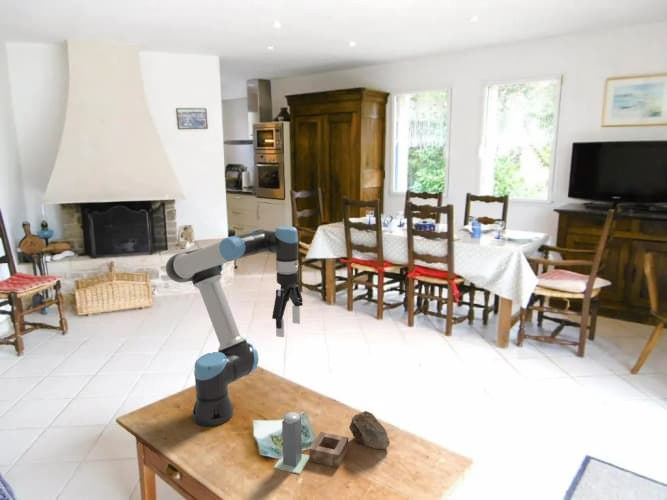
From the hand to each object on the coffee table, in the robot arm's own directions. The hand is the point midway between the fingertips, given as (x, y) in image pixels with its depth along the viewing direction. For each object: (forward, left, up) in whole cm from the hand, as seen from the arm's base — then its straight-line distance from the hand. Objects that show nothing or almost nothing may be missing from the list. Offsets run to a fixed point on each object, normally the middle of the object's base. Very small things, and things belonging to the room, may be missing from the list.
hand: (288, 329), depth 168 cm
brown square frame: (+20, -13, -37) cm, 44 cm away
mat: (+10, -21, -37) cm, 43 cm away
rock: (+31, -2, -37) cm, 48 cm away
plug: (+10, -21, -36) cm, 43 cm away
